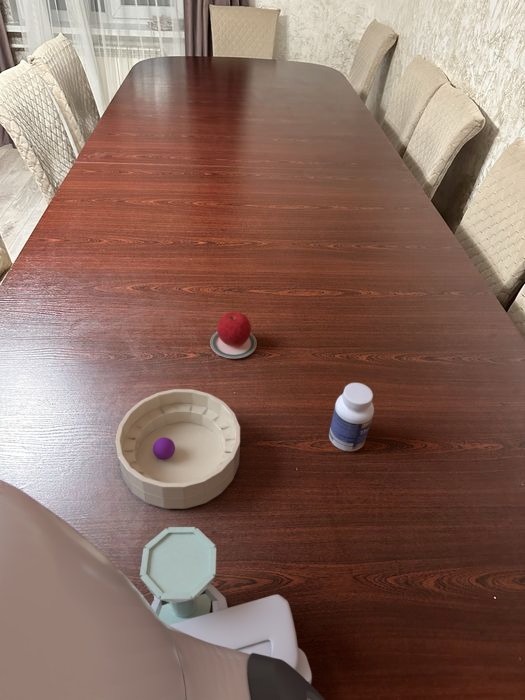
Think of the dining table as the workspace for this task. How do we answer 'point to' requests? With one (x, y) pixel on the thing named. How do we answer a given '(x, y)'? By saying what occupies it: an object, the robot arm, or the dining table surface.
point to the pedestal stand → (179, 572)
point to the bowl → (179, 448)
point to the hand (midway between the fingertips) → (180, 579)
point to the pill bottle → (352, 417)
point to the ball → (164, 448)
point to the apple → (233, 337)
